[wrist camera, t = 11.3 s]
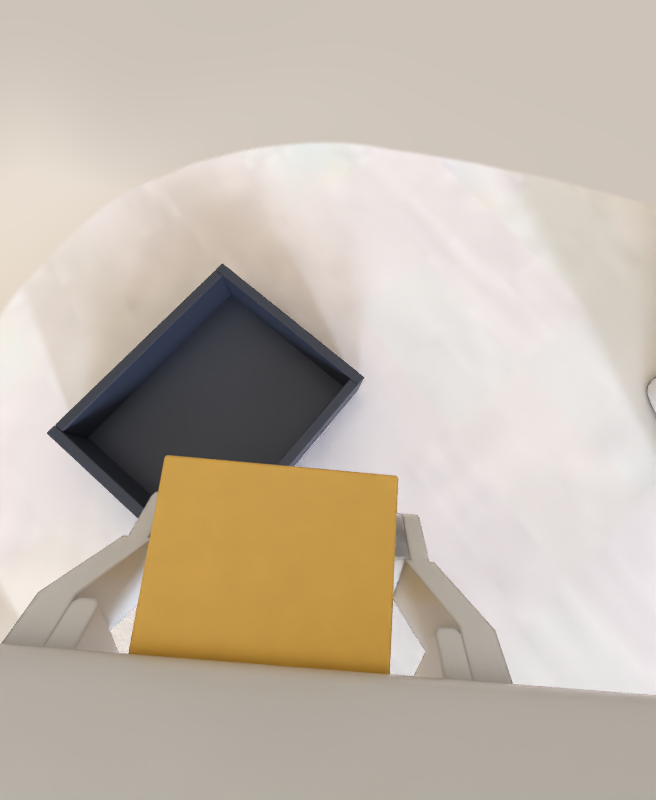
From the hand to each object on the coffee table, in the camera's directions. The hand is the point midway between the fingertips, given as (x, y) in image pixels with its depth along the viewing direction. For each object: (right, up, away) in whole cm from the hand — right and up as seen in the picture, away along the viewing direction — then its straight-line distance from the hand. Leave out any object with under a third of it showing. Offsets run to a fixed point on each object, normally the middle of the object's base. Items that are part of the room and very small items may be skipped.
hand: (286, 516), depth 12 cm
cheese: (0, -2, +5) cm, 5 cm away
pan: (-7, +3, +17) cm, 18 cm away
